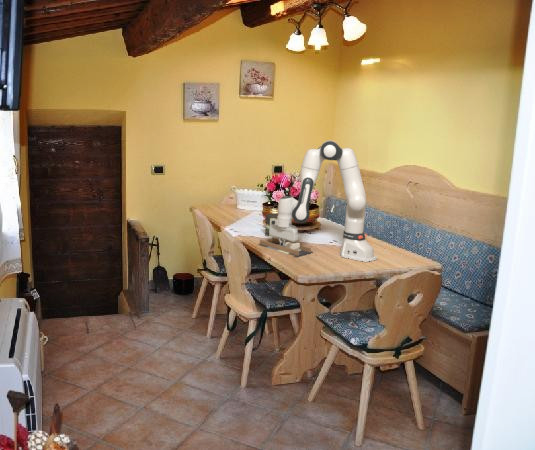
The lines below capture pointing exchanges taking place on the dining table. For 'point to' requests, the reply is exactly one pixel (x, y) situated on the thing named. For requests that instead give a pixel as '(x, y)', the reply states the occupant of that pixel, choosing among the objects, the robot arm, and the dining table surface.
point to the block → (293, 245)
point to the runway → (285, 248)
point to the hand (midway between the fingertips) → (282, 245)
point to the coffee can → (268, 218)
